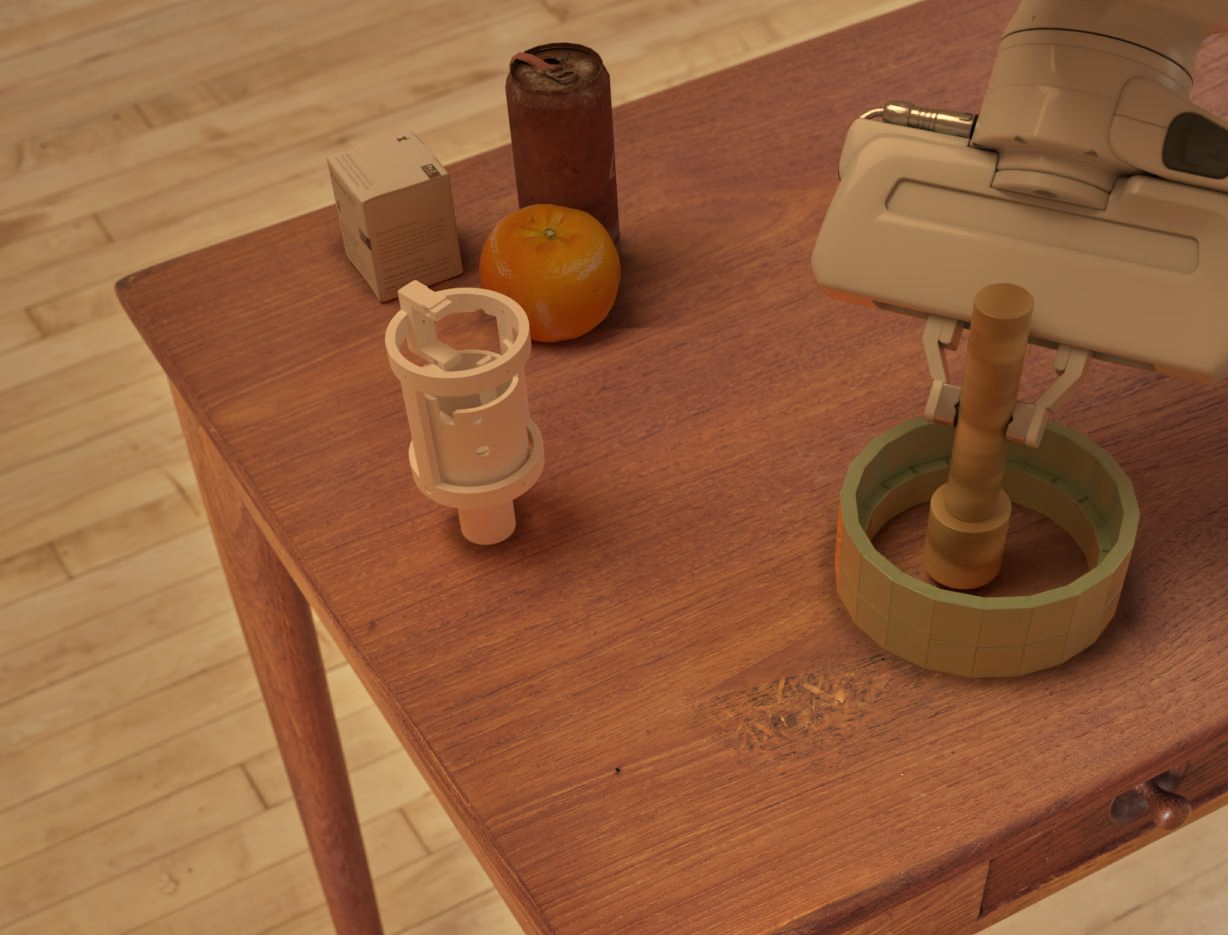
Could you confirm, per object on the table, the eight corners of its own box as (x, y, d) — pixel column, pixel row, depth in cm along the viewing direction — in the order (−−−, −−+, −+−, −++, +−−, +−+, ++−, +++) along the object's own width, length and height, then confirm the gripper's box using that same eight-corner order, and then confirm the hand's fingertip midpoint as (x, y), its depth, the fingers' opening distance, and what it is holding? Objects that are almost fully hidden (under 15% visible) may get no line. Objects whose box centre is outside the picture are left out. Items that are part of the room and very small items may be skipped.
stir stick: (995, 533, 84) (1043, 271, 71) (1005, 588, 82) (1057, 326, 69) (918, 536, 84) (953, 275, 71) (927, 591, 82) (964, 330, 69)
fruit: (600, 342, 93) (561, 201, 90) (478, 369, 97) (437, 235, 94) (655, 309, 100) (621, 177, 97) (538, 336, 104) (502, 210, 101)
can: (545, 240, 105) (523, 30, 94) (635, 256, 104) (624, 44, 92) (509, 293, 102) (482, 83, 91) (601, 311, 100) (585, 99, 89)
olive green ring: (1089, 488, 88) (1110, 401, 84) (1138, 687, 80) (1165, 603, 75) (825, 498, 89) (830, 413, 84) (845, 696, 80) (853, 613, 76)
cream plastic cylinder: (492, 479, 92) (457, 249, 80) (580, 534, 88) (556, 304, 76) (401, 544, 89) (350, 317, 77) (488, 604, 86) (449, 377, 74)
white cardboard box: (345, 258, 105) (322, 155, 99) (428, 229, 107) (411, 125, 101) (381, 305, 102) (360, 201, 96) (466, 274, 104) (451, 170, 98)
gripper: (844, 70, 73) (759, 373, 76) (1305, 156, 67) (1194, 481, 70) (871, 113, 79) (791, 392, 81) (1296, 194, 73) (1195, 493, 75)
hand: (980, 434), depth 75 cm, fingers closed on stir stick, 2 cm apart
